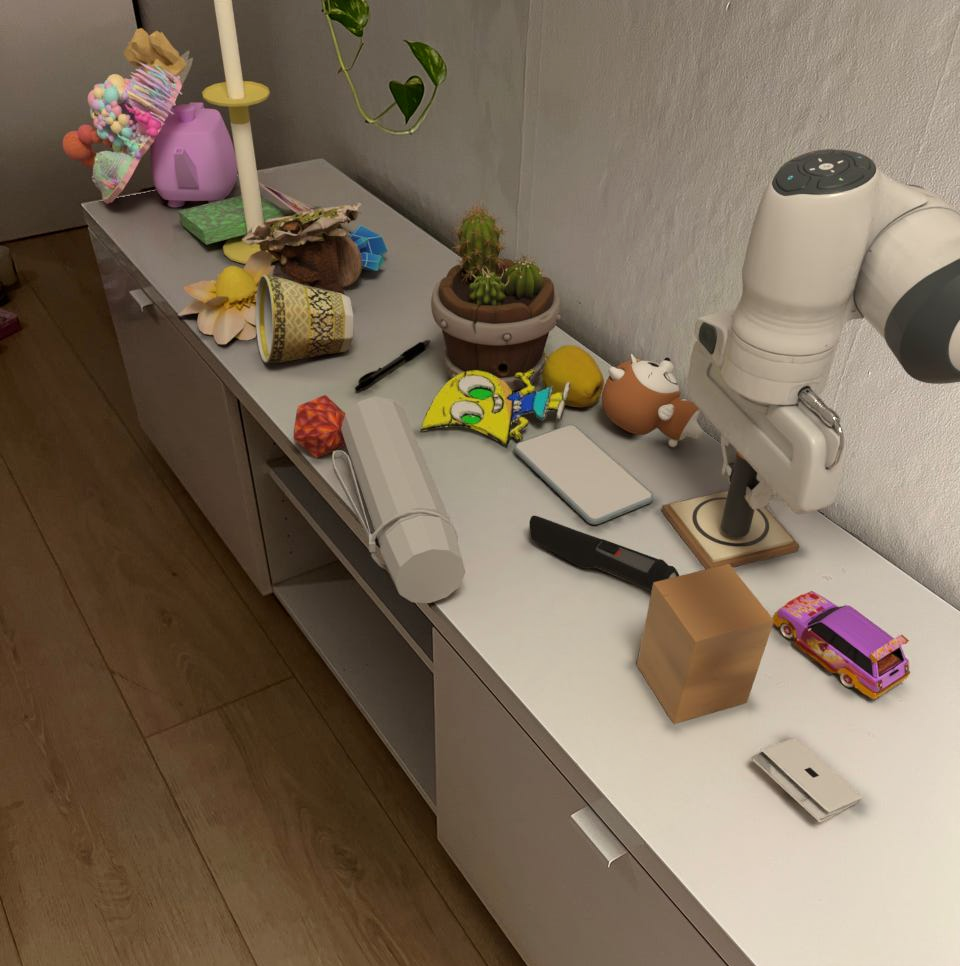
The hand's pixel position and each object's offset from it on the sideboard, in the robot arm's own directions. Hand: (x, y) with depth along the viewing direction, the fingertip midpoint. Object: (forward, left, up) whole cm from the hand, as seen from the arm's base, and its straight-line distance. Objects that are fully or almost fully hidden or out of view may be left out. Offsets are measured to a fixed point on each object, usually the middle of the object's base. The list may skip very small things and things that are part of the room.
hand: (743, 490), depth 94 cm
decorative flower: (+35, -57, -1) cm, 67 cm away
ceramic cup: (+26, -50, -4) cm, 56 cm away
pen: (+22, -42, -5) cm, 48 cm away
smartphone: (+10, -15, -7) cm, 19 cm away
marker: (0, 0, -5) cm, 5 cm away
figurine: (-5, -15, -4) cm, 16 cm away
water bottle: (+30, -26, -3) cm, 40 cm away
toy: (+8, -23, -4) cm, 24 cm away
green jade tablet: (+34, -85, -3) cm, 92 cm away
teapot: (+36, -99, -7) cm, 105 cm away
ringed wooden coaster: (-1, -2, -7) cm, 7 cm away
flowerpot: (+12, -36, -7) cm, 38 cm away
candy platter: (+41, -101, +3) cm, 109 cm away
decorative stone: (+33, -25, -2) cm, 42 cm away
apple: (+2, -26, -5) cm, 26 cm away
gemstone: (+24, -63, -3) cm, 68 cm away
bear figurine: (+28, -64, +4) cm, 70 cm away
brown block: (+13, +15, -7) cm, 21 cm away
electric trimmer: (+14, -1, -7) cm, 15 cm away
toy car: (-1, +16, -7) cm, 18 cm away
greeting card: (+27, -88, -6) cm, 92 cm away
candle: (+31, -78, -7) cm, 84 cm away
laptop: (+10, +28, -7) cm, 30 cm away
